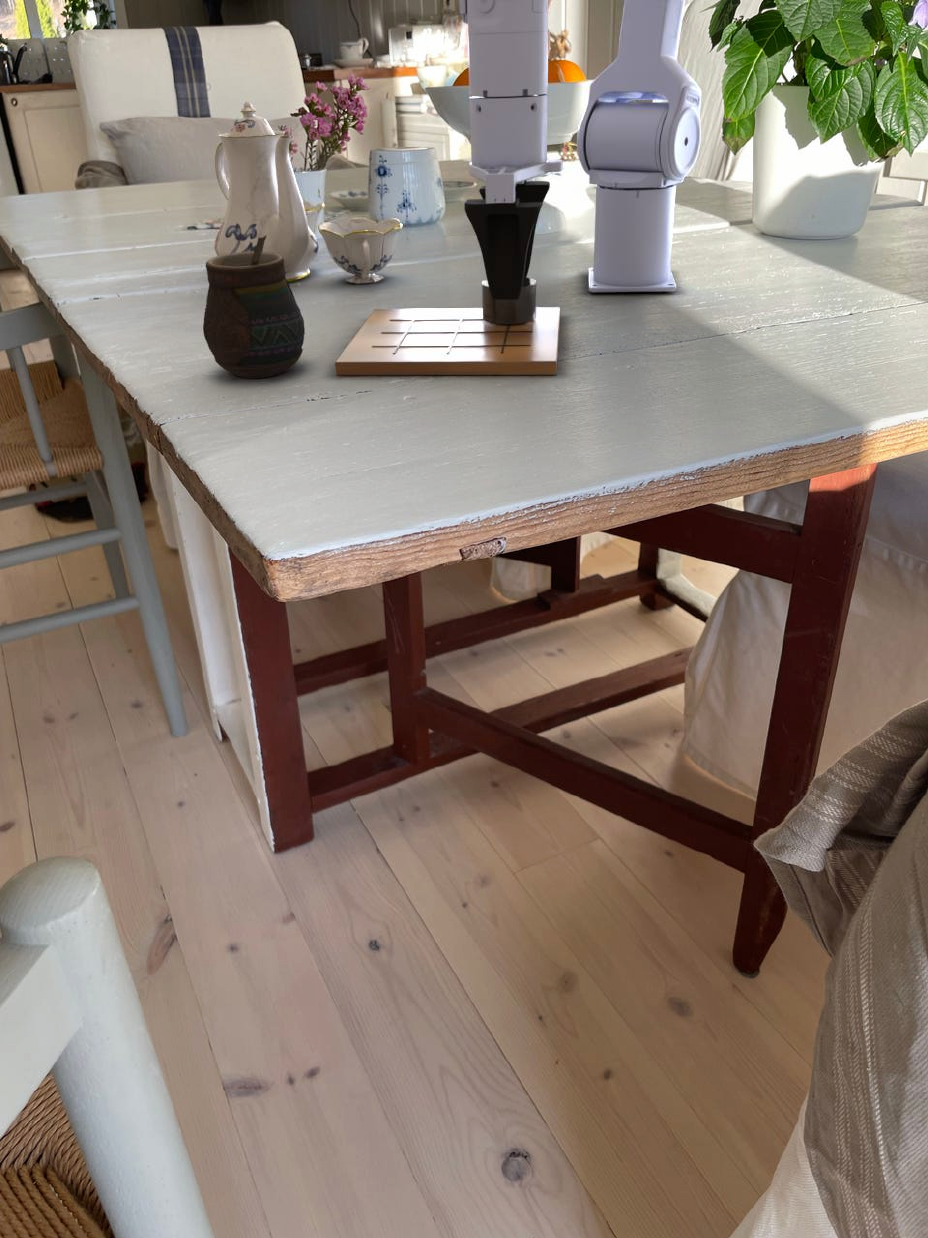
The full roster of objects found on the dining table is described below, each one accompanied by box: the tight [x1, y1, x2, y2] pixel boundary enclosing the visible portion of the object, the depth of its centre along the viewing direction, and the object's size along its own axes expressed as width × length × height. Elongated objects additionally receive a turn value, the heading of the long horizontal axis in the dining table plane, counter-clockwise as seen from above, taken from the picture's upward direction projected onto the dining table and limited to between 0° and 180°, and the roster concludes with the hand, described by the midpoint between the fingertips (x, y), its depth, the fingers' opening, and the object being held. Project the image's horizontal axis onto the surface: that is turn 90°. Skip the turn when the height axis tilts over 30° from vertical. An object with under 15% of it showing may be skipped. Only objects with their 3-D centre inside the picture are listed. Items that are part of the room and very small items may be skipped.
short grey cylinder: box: [481, 277, 538, 324], centre depth 79 cm, size 4×4×3 cm
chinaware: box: [213, 100, 404, 285], centre depth 100 cm, size 28×17×17 cm, turn 40°
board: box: [334, 306, 561, 376], centre depth 77 cm, size 16×16×1 cm
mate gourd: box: [202, 235, 306, 379], centre depth 70 cm, size 7×8×10 cm
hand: (510, 287), depth 78 cm, fingers open, 7 cm apart
